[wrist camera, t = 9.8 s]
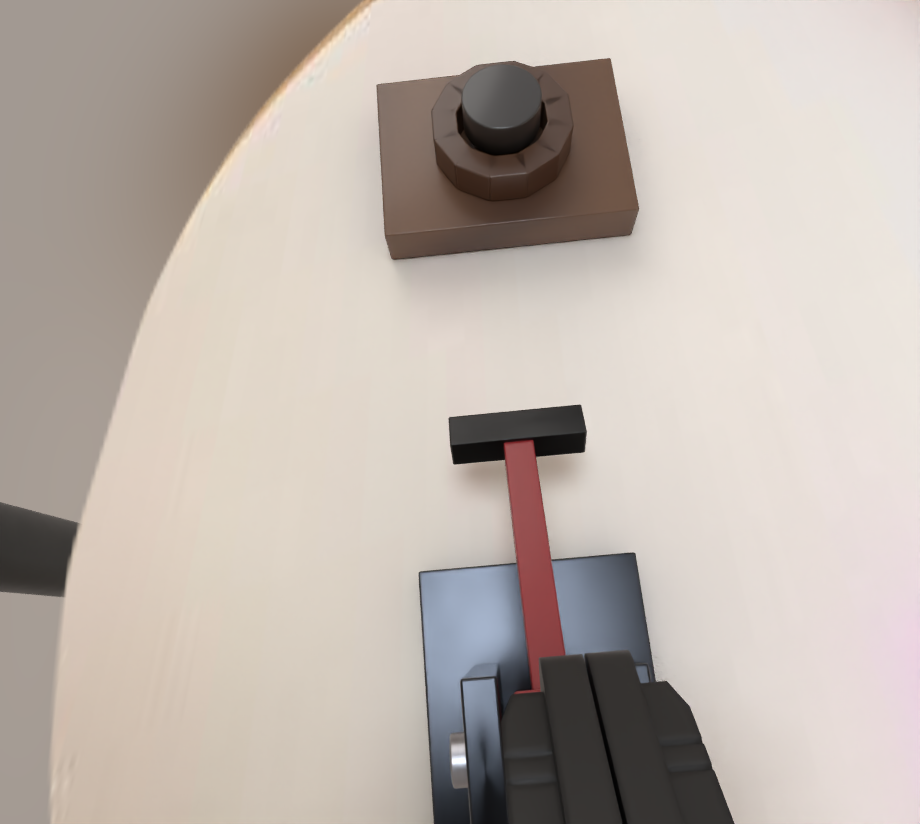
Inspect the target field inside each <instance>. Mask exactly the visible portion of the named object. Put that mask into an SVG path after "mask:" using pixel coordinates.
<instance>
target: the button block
mask: <svg viewBox="0 0 920 824" xmlns="http://www.w3.org/2000/svg"><path fill="white" fill-rule="evenodd" d="M498 64H508V65H514V66H518V67H520V68H523V69H525V70H526V71H528V72H529V73H531V74H532V75H533V76H534V77H535V79H536V80H537V81H538V83H539V85H540V88H541V91H542V104H541V118H540V127H539V131H538V133H537V135H536V137H535V138H534V139H533V141H532V142H531V143H530V144H529V145H527V146H526V147H525V148H523V149H521V150H519V151H517V152H514V153H510V154H491V153H488V152H485V151H482V150H480V149H479V148H477V147H476V146H474V145H473V144H472V143H471V142H470V140H469V139H468V138H467V136H466V134H465V131H464V126H463V114H462V102H461V96H462V91H463V88H464V86H465V84H466V82H467V81H468V80H469V78H470V77H471V76H472V75H474V74H475V73H476V72H478V71H479V70H481V69H483V68H486V67H488V66H492V65H498ZM377 103H378V121H379V139H380V158H381V176H382V194H383V212H384V230H385V238H386V241H387V245H388V248H389V251H390V255H391V258H392V259H401V258H410V257H420V256H429V255H439V254H448V253H458V252H468V251H477V250H487V249H496V248H506V247H516V246H525V245H535V244H544V243H554V242H563V241H573V240H583V239H592V238H602V237H611V236H621V235H630V234H631V233H632V230H633V226H634V223H635V220H636V217H637V214H638V211H639V206H638V200H637V195H636V190H635V185H634V179H633V174H632V169H631V164H630V158H629V153H628V148H627V143H626V137H625V132H624V127H623V121H622V116H621V111H620V106H619V100H618V95H617V90H616V85H615V79H614V74H613V69H612V64H611V59H610V58H607V59H598V60H589V61H580V62H571V63H562V64H554V65H545V66H536V67H531V66H528V65H525V64H522V63H519V62H516V61H513V62H512V61H508V62H499V63H490V64H481V65H478V66H477V65H476V66H474V67H472V68H471V69H469V70H467V71H466V72H464V73H462V74H461V75H456V76H447V77H438V78H429V79H421V80H412V81H403V82H394V83H385V84H378V85H377Z"/></svg>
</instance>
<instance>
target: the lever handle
mask: <svg viewBox="0 0 920 824" xmlns="http://www.w3.org/2000/svg"><path fill="white" fill-rule="evenodd" d="M449 433H450V447H451V453H452V459H453V464H466V463H476V462H487V461H497V460H505V467H506V476H507V484H508V493H509V501H510V510H511V519H512V527H513V536H514V544H515V553H516V562H517V570H518V579H519V587H520V596H521V605H522V613H523V622H524V630H525V639H526V648H527V656H528V665H529V673H530V682H531V690H525V691H516V692H515V693H514V694H520V693H532V692H541V691H540V675H539V657H551V656H563V655H566V654H565V647H564V640H563V634H562V627H561V620H560V614H559V607H558V600H557V594H556V587H555V581H554V574H553V567H552V561H551V554H550V547H549V541H548V534H547V527H546V521H545V514H544V508H543V501H542V494H541V488H540V481H539V474H538V468H537V461H536V457H540V456H550V455H561V454H572V453H582V452H585V444H586V434H587V431H586V426H585V421H584V417H583V412H582V407H581V405H571V406H561V407H550V408H540V409H530V410H519V411H509V412H499V413H488V414H478V415H468V416H457V417H449Z"/></svg>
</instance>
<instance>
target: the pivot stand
mask: <svg viewBox="0 0 920 824" xmlns="http://www.w3.org/2000/svg"><path fill="white" fill-rule="evenodd" d="M551 561H552V567H553V574H554V581H555V587H556V594H557V600H558V607H559V614H560V620H561V627H562V634H563V640H564V647H565V654H566V655H575V654H582V655H583V658H584V655H585V653H596V652H608V651H619V650H629V651H630V653H631V655H632V658H633V660H634V664H635V667H636V670H637V673H638V676H639V679H640V683H649V682H656V680H655V674H654V667H653V661H652V655H651V649H650V642H649V636H648V630H647V623H646V617H645V611H644V605H643V598H642V592H641V586H640V579H639V573H638V567H637V561H636V554H635V553H622V554H610V555H599V556H588V557H577V558H566V559H555V560H551ZM419 589H420V605H421V621H422V637H423V653H424V670H425V686H426V702H427V718H428V734H429V751H430V767H431V783H432V799H433V815H434V824H509V813H508V801H507V789H506V777H505V765H504V753H503V741H502V729H501V721H502V718H503V715H504V713H505V710H506V707H507V705H508V702H509V699H510V697H511V694H514V693H515V692H516V691H525V690H531V682H530V673H529V665H528V656H527V648H526V639H525V630H524V622H523V613H522V605H521V596H520V587H519V579H518V570H517V563H510V564H499V565H488V566H477V567H465V568H454V569H443V570H432V571H421V572H419Z"/></svg>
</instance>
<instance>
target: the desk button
mask: <svg viewBox="0 0 920 824" xmlns="http://www.w3.org/2000/svg"><path fill="white" fill-rule="evenodd" d="M461 102H462V114H463V126H464V131H465V134H466V136H467V138H468V139H469V140H470V142H471V143H472V144H473V145H474V146H476V147H477V148H479V149H480V150H482V151H485V152H488V153H491V154H510V153H514V152H517V151H519V150H521V149H523V148H525V147H526V146H527V145H529V144H530V143H531V142H532V141H533V139H534V138H535V137H536V135H537V133H538V131H539V127H540V118H541V104H542V91H541V88H540V85H539V83H538V81H537V80H536V79H535V77H534V76H533V75H532V74H531V73H529V72H528V71H526V70H525V69H523V68H520V67H518V66H514V65H508V64H498V65H492V66H488V67H486V68H483V69H481V70H479V71H478V72H476V73H475V74H474V75H472V76H471V77H470V78H469V80H468V81H467V82H466V84H465V86H464V88H463V91H462V96H461Z"/></svg>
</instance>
